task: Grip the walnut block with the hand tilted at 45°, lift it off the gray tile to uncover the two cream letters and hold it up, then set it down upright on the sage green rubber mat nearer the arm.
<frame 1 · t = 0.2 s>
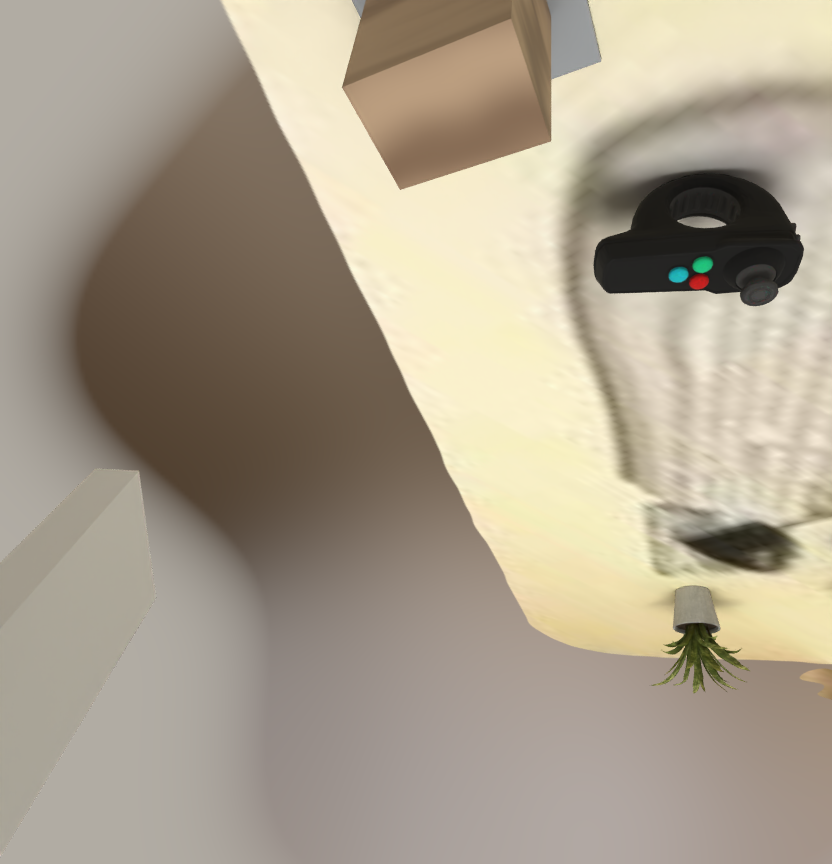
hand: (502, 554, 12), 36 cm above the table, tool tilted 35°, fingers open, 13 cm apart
house plant: (686, 592, 113), on the table
controller: (682, 188, 47), on the table
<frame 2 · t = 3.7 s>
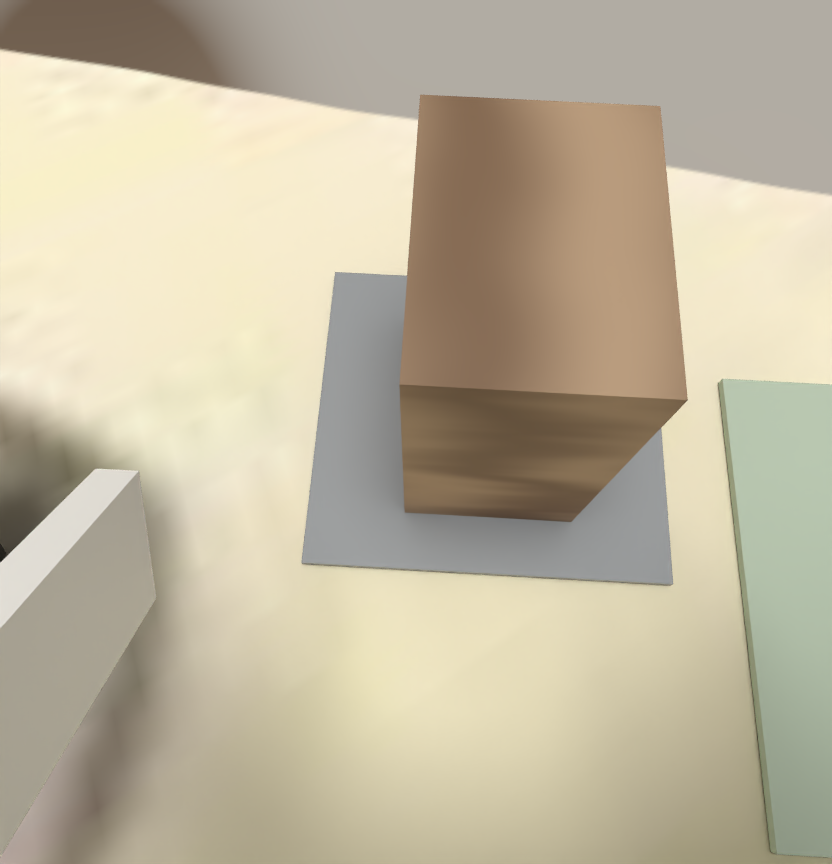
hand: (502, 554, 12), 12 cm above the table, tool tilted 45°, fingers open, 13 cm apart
walnut block: (489, 414, 26), resting on gray tile
gray tile: (488, 417, 26), on the table
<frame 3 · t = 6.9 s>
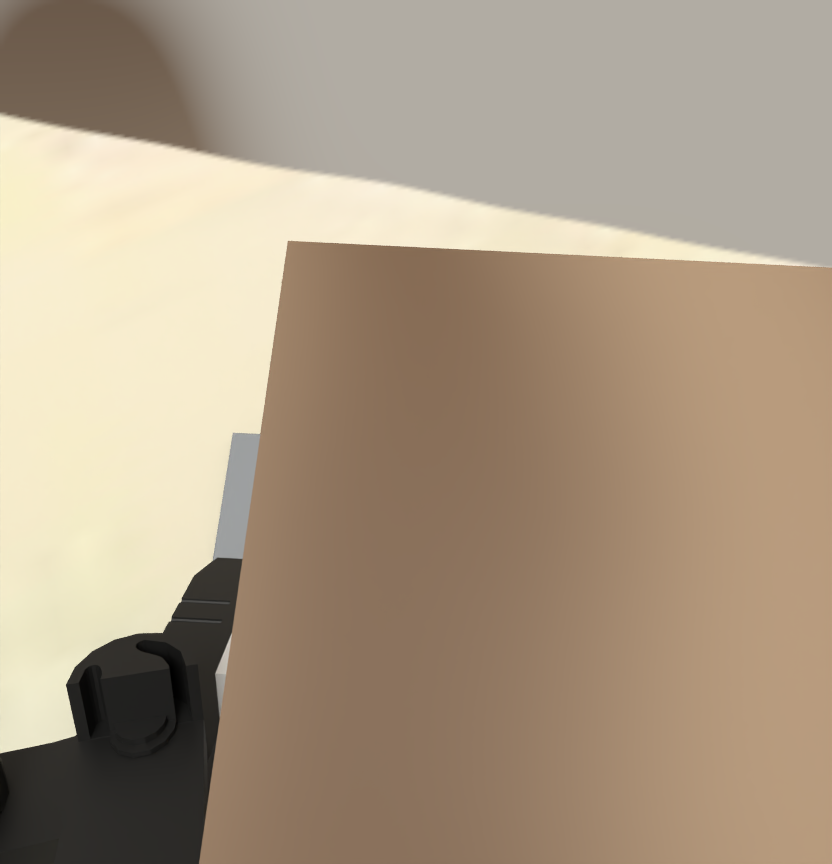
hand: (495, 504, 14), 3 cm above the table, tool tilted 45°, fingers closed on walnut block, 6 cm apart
walnut block: (477, 692, 15), resting on gray tile, touching gripper
gray tile: (476, 692, 16), on the table
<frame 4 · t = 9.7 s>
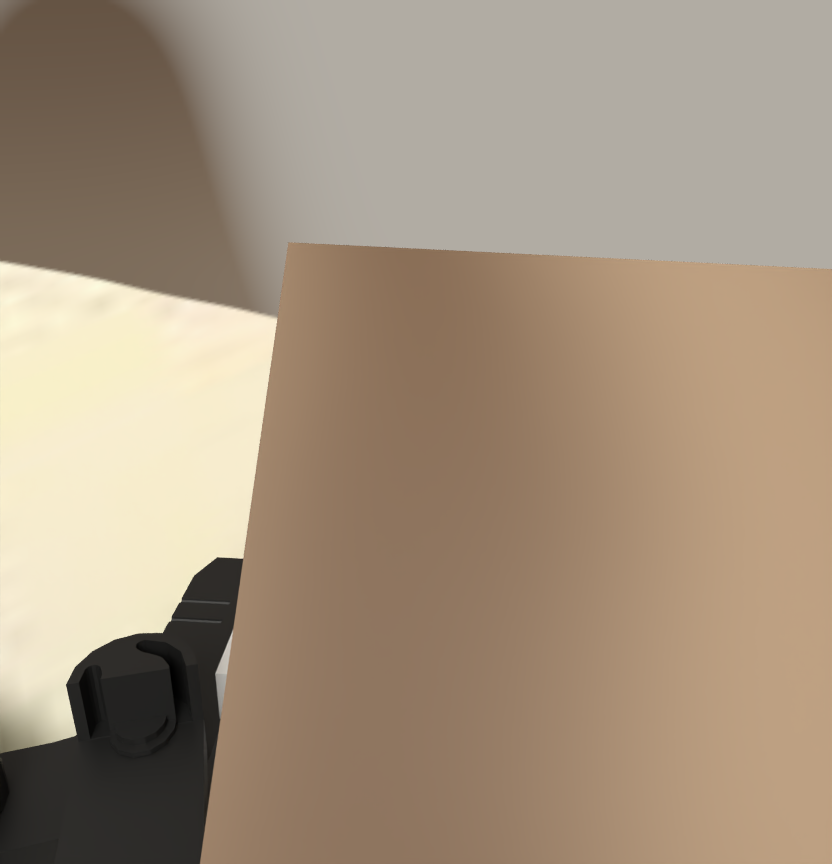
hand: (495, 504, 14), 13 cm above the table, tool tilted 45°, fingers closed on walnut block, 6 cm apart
walnut block: (477, 692, 15), point 10 cm above the table, touching gripper
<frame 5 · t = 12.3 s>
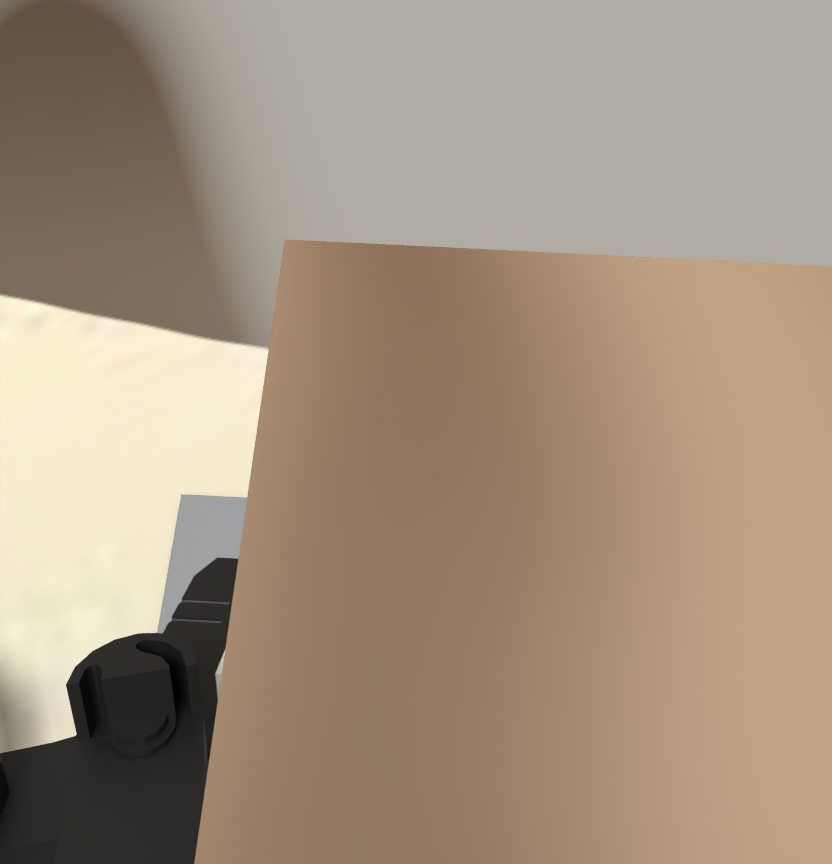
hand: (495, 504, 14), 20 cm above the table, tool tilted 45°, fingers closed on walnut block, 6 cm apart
walnut block: (476, 692, 15), point 17 cm above the table, touching gripper
gray tile: (297, 623, 33), on the table
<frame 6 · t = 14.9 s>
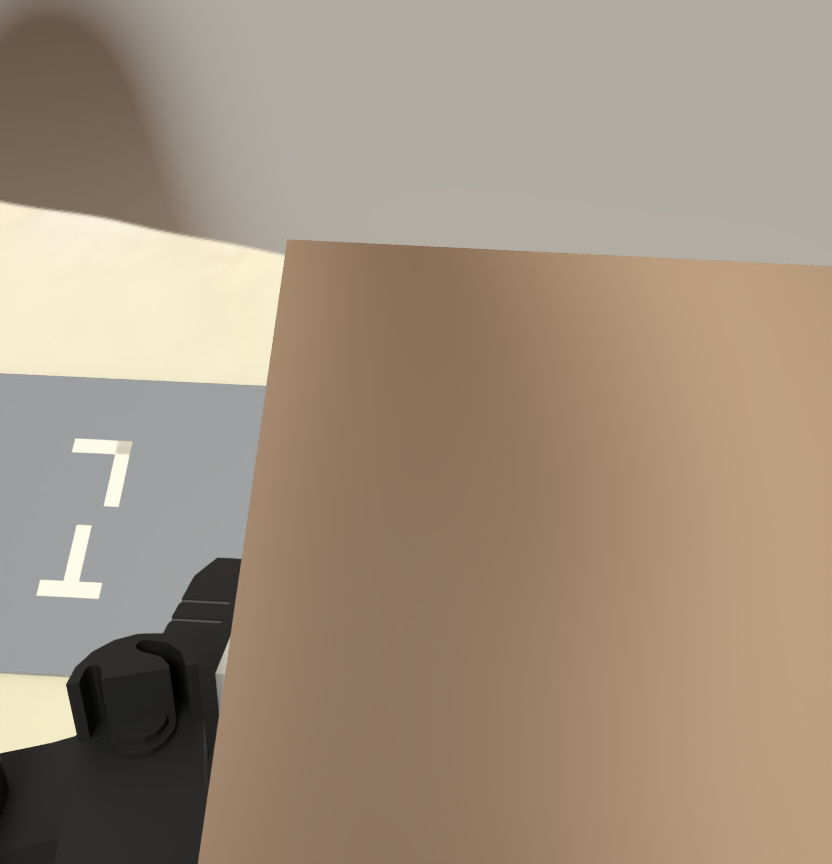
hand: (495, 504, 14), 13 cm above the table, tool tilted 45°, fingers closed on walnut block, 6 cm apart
walnut block: (477, 693, 15), point 10 cm above the table, touching gripper
gray tile: (89, 517, 27), on the table
when the fingers open (5 cm above the table, at t = 17.5 s): walnut block drops 2 cm, resting on rubber mat.
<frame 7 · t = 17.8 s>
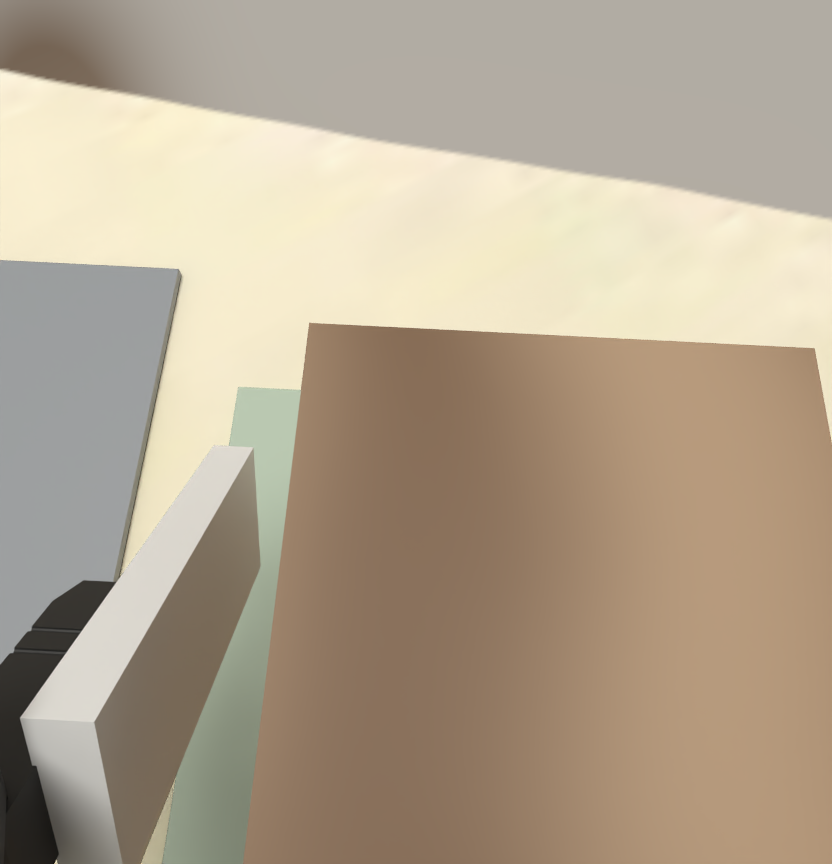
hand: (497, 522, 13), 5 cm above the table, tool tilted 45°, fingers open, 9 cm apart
rubber mat: (470, 692, 17), on the table
walnut block: (472, 694, 17), resting on rubber mat
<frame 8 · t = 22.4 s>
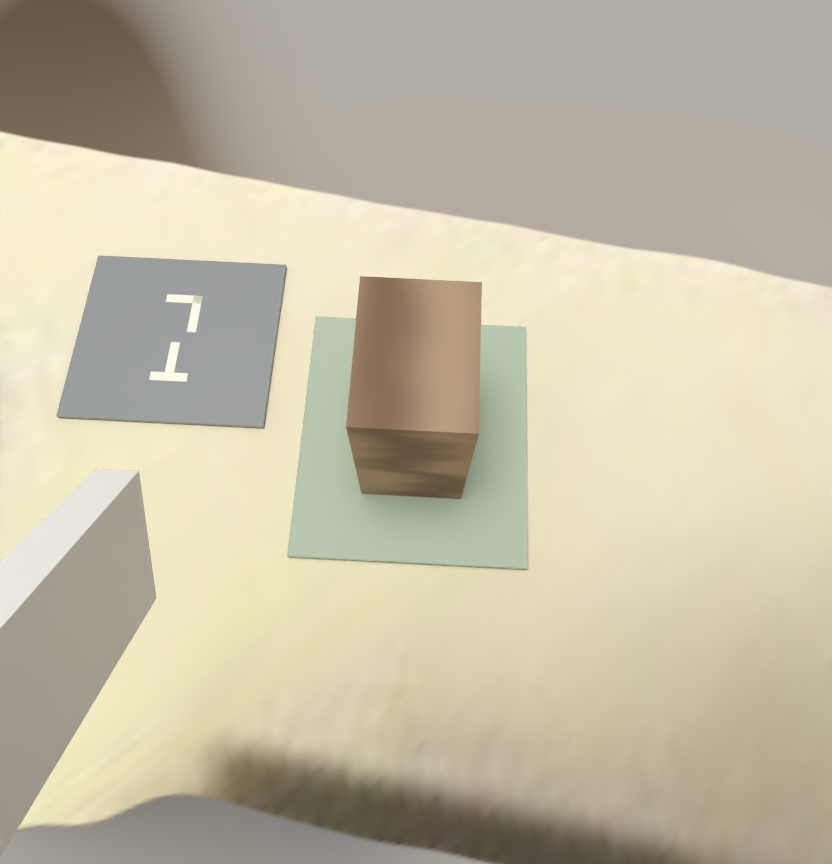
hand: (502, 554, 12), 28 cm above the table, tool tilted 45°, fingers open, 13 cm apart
rubber mat: (414, 436, 43), on the table
walnut block: (414, 434, 42), resting on rubber mat
gray tile: (178, 339, 45), on the table
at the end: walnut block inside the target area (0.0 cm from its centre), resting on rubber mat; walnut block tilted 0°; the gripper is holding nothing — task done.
